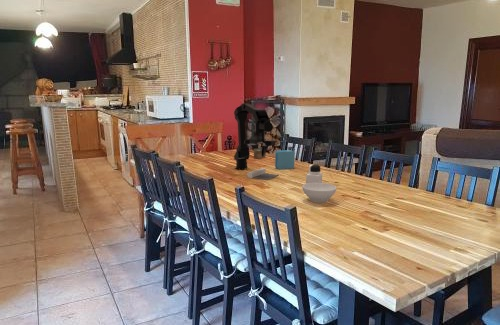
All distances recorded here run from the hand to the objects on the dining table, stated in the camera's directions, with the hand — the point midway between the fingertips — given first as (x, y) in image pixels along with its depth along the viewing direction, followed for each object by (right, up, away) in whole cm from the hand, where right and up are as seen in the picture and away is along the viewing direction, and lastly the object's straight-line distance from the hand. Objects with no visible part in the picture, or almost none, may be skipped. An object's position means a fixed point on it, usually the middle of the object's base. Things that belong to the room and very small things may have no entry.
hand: (259, 156), depth 231 cm
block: (0, -1, 0) cm, 1 cm away
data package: (+17, -8, +24) cm, 31 cm away
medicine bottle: (+29, -17, -23) cm, 41 cm away
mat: (+4, -12, 0) cm, 13 cm away
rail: (-2, -12, +3) cm, 12 cm away
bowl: (+27, -22, -50) cm, 61 cm away
